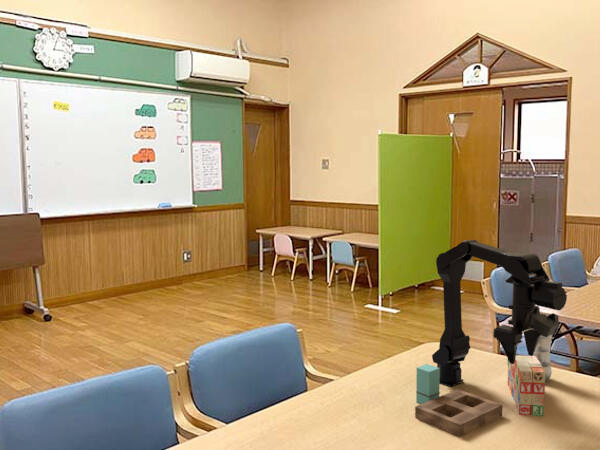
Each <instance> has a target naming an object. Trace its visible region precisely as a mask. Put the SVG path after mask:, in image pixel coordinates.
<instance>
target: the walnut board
mask: <svg viewBox="0 0 600 450" xmlns="http://www.w3.org/2000/svg"><path fill="white" fill-rule="evenodd" d="M414 409H415V410H414V411H415V413H414V415H415V416H414V418H415V419H417V420H420V421H422V422H425V423H427V424H429V425H431V426H433V427H436V428H439V429H441V430H443V431H446V432H448V433H451V434H453V435H455V436H456V437H458V438H459V437H463V436H464V435H467V434H469V433H470V432H472V431H475V430H476V429H479V428H480V427H482V426H485V425H486V424H489V423H491V422H492V421H495V420H497V419H499V418H501V417H503V404H501V403H498V402H496V401H492V400H490V399H487V398H484V397H481V396H479V395H476V394H472V393H470V392H467V391H465V390H461V389H455V390H451V391H450V392H448V393H445V394H442V395H439V397H438V398H435V399H433V400H430V401H428V402H425V403H423V404H418V405H416V406H415V408H414Z"/></svg>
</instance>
